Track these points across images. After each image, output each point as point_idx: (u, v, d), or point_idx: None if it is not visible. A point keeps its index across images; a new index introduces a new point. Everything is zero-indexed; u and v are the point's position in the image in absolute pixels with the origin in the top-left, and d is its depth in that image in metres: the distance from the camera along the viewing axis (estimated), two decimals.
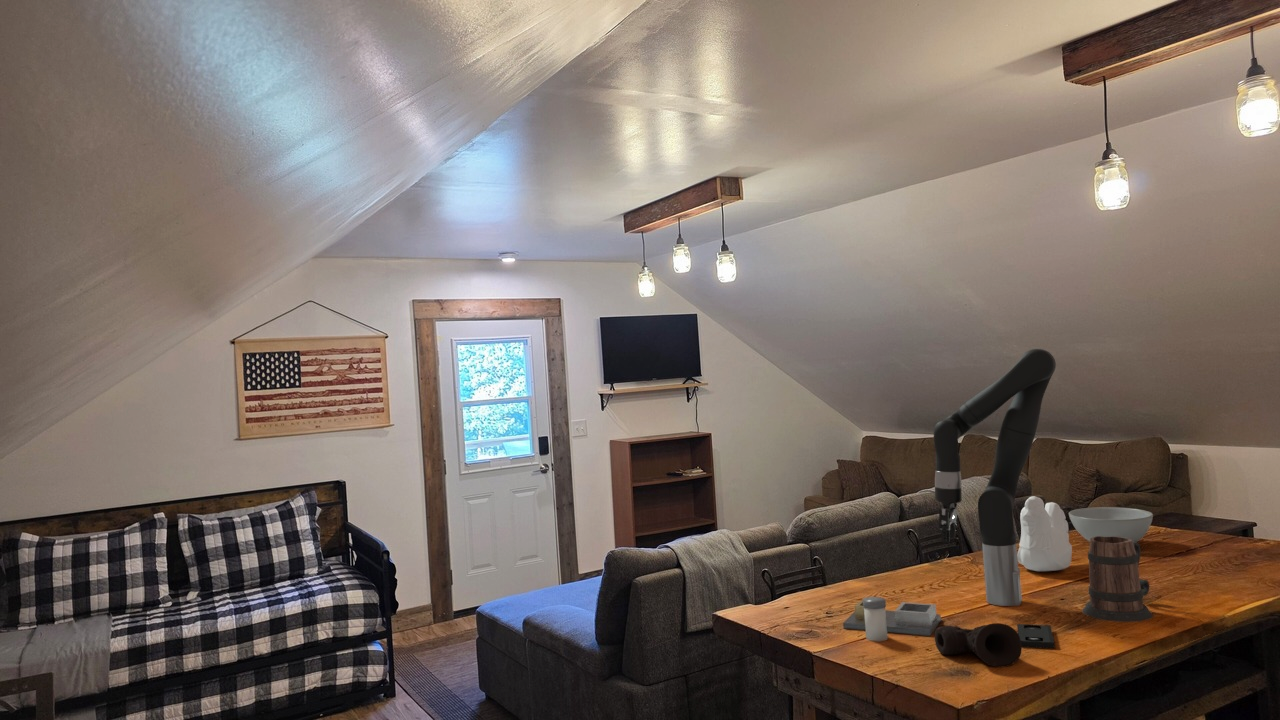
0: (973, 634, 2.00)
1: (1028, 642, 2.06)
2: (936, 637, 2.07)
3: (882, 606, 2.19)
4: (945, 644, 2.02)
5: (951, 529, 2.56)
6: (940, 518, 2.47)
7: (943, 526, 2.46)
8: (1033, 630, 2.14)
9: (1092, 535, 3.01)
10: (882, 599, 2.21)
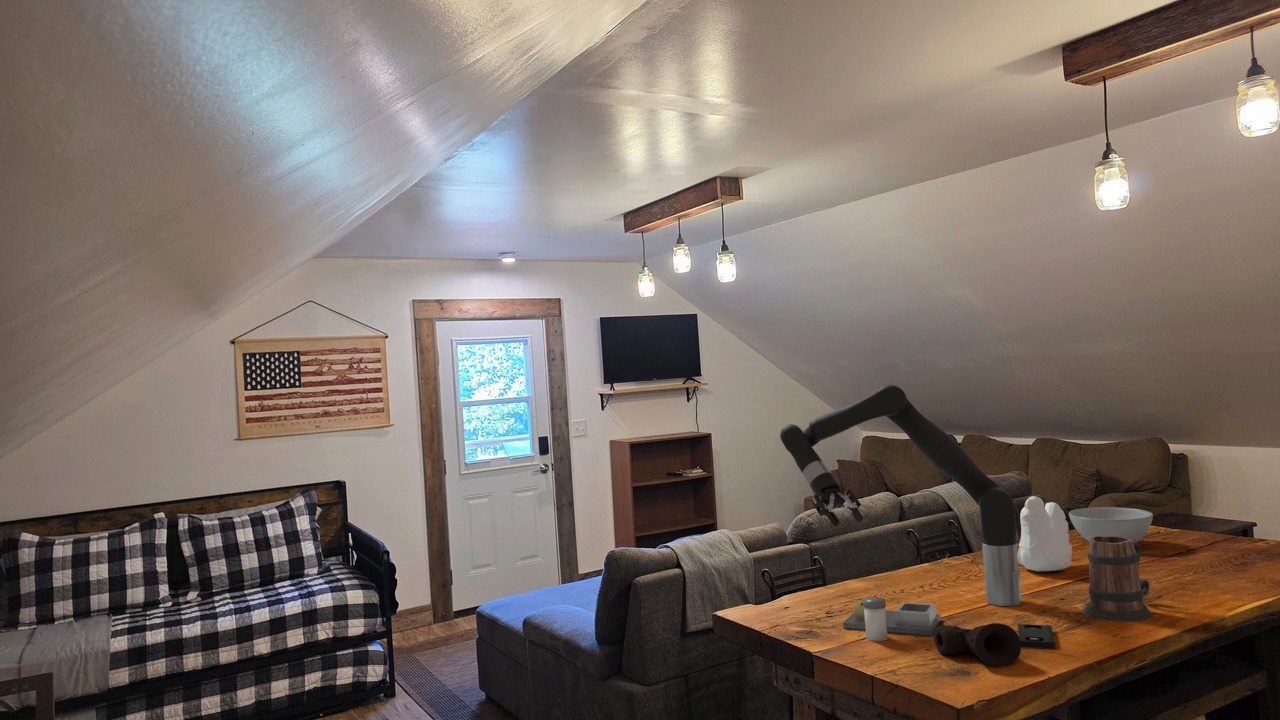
0: (972, 634, 2.00)
1: (1028, 642, 2.06)
2: (935, 637, 2.08)
3: (882, 606, 2.19)
4: (944, 644, 2.03)
5: (855, 514, 2.44)
6: (815, 507, 2.43)
7: (820, 511, 2.41)
8: (1034, 630, 2.14)
9: (1092, 535, 3.01)
10: (882, 599, 2.21)
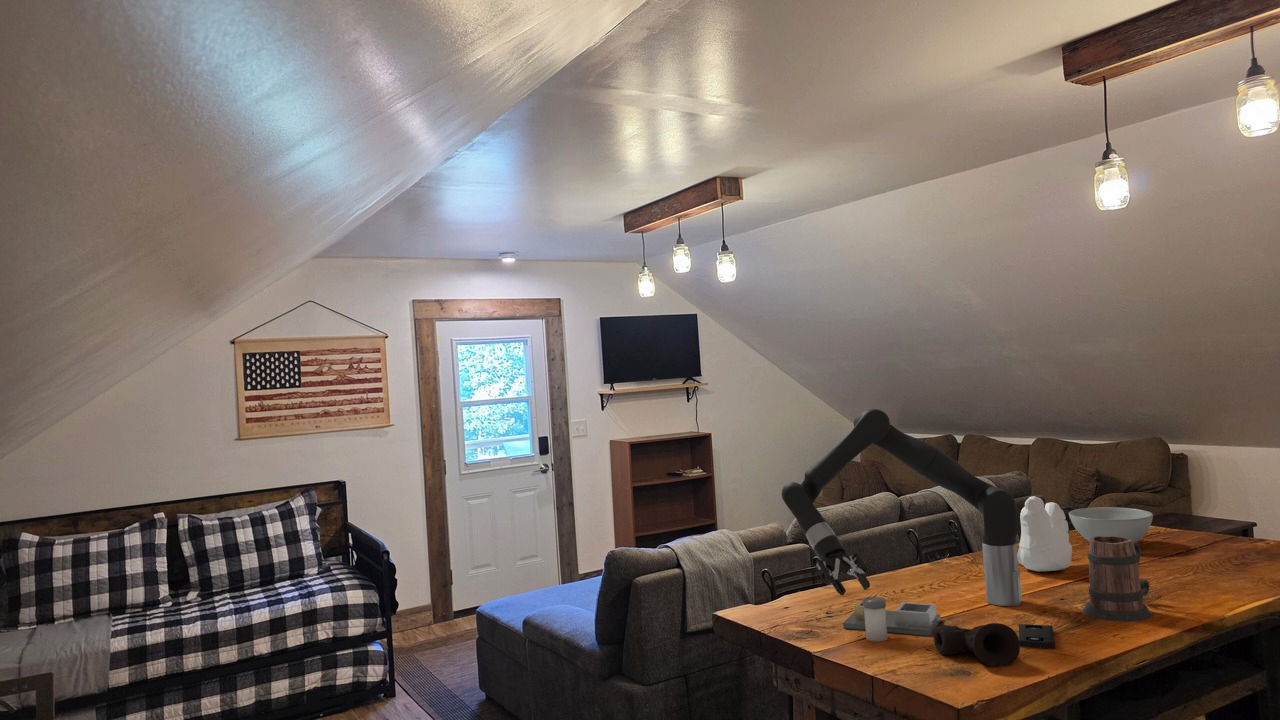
0: (971, 634, 2.00)
1: (1028, 642, 2.06)
2: (935, 637, 2.08)
3: (882, 606, 2.19)
4: (943, 644, 2.03)
5: (862, 580, 2.31)
6: (820, 573, 2.29)
7: (825, 579, 2.27)
8: (1034, 630, 2.14)
9: (1092, 535, 3.01)
10: (882, 599, 2.21)
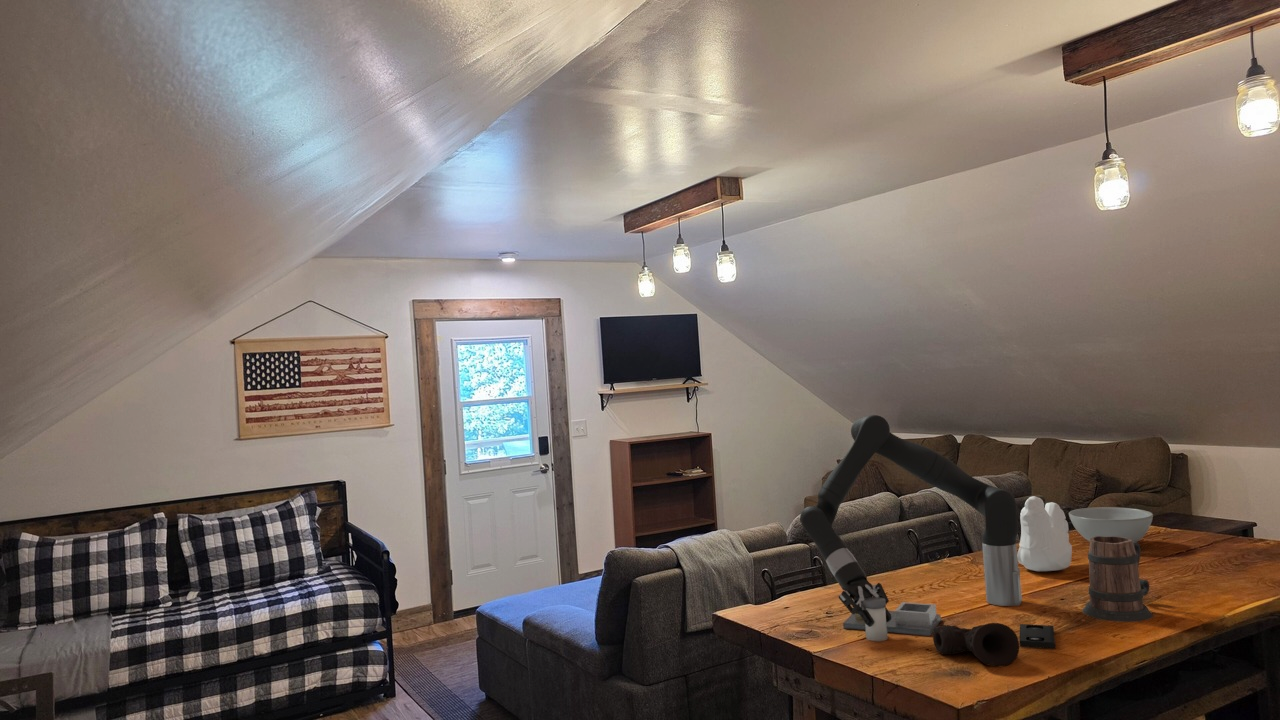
0: (971, 634, 2.00)
1: (1029, 642, 2.06)
2: (934, 636, 2.08)
3: (882, 606, 2.19)
4: (943, 643, 2.03)
5: None
6: (845, 605, 2.22)
7: (852, 609, 2.20)
8: (1035, 630, 2.14)
9: (1092, 535, 3.01)
10: (882, 599, 2.21)
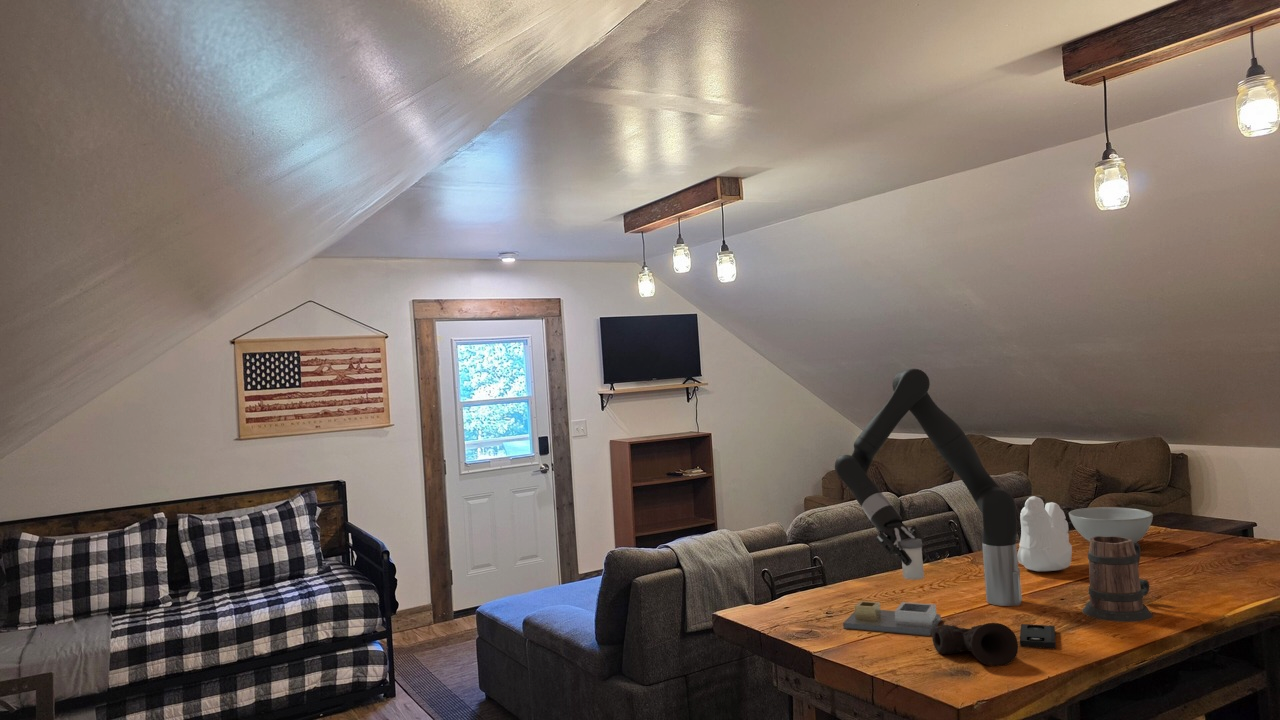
0: (970, 633, 2.01)
1: (1029, 642, 2.06)
2: (933, 636, 2.08)
3: (919, 545, 2.26)
4: (942, 643, 2.03)
5: None
6: (883, 545, 2.29)
7: (890, 549, 2.28)
8: (1036, 630, 2.14)
9: (1092, 535, 3.01)
10: (918, 539, 2.29)
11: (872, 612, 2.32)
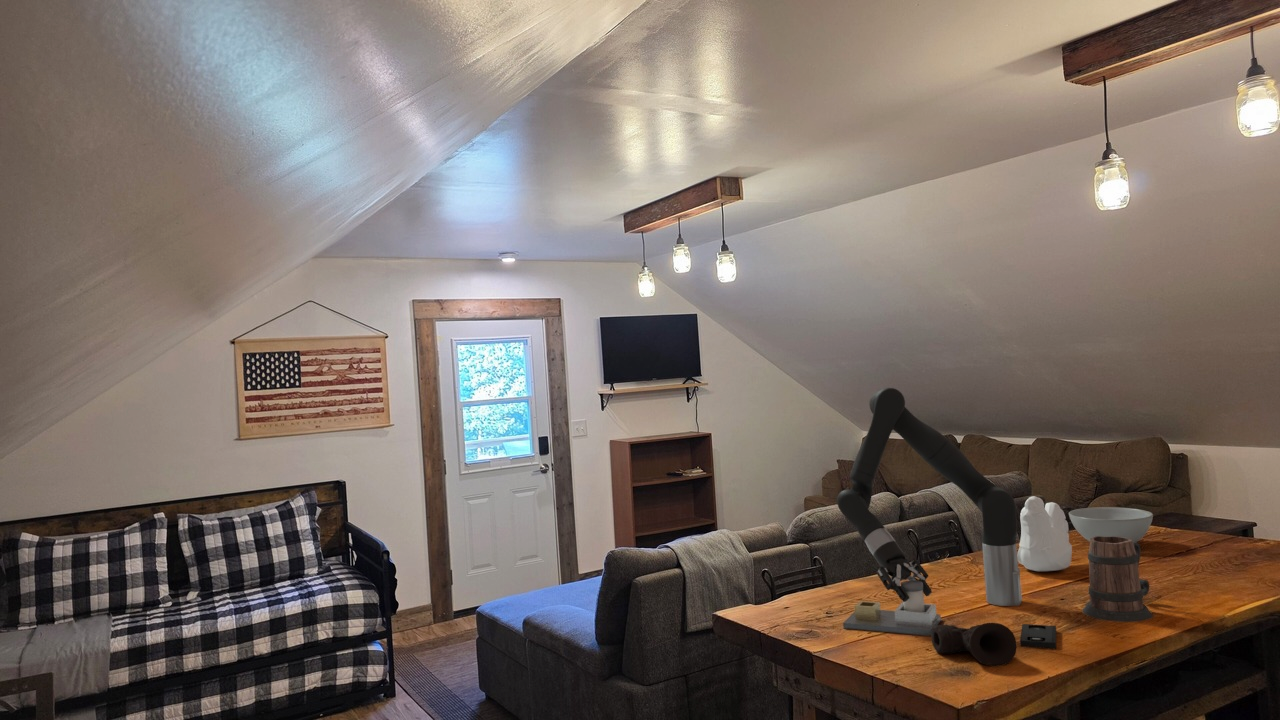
0: (968, 633, 2.01)
1: (1029, 642, 2.06)
2: (933, 636, 2.08)
3: (920, 589, 2.27)
4: (941, 643, 2.03)
5: (923, 586, 2.31)
6: (882, 580, 2.30)
7: (888, 585, 2.28)
8: (1037, 630, 2.14)
9: (1092, 535, 3.01)
10: (919, 582, 2.29)
11: (872, 612, 2.32)
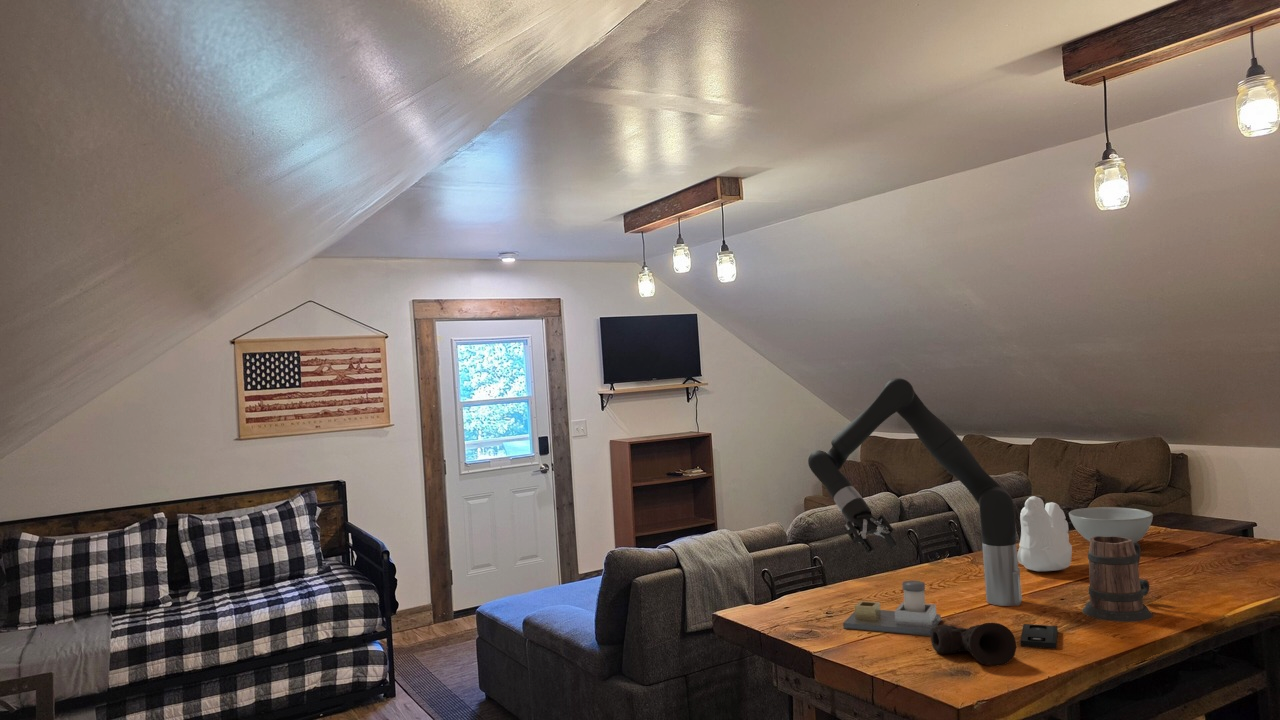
0: (968, 633, 2.01)
1: (1030, 642, 2.06)
2: (932, 636, 2.08)
3: (921, 589, 2.27)
4: (940, 643, 2.03)
5: (888, 539, 2.43)
6: (848, 533, 2.42)
7: (854, 538, 2.40)
8: (1038, 630, 2.14)
9: (1092, 535, 3.01)
10: (921, 582, 2.29)
11: (872, 612, 2.32)
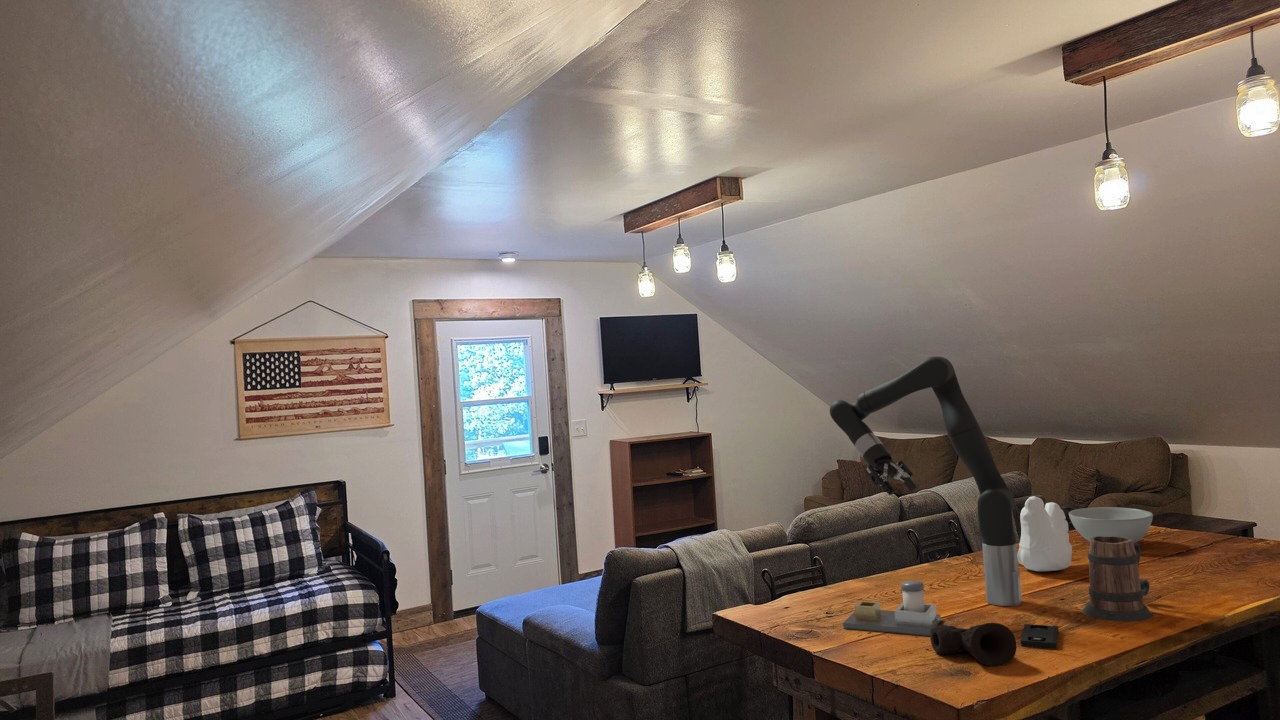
0: (968, 633, 2.01)
1: (1030, 642, 2.06)
2: (931, 636, 2.08)
3: (920, 589, 2.27)
4: (940, 643, 2.03)
5: (908, 483, 2.52)
6: (870, 476, 2.51)
7: (875, 480, 2.49)
8: (1039, 630, 2.14)
9: (1092, 535, 3.01)
10: (920, 582, 2.29)
11: (872, 612, 2.32)
